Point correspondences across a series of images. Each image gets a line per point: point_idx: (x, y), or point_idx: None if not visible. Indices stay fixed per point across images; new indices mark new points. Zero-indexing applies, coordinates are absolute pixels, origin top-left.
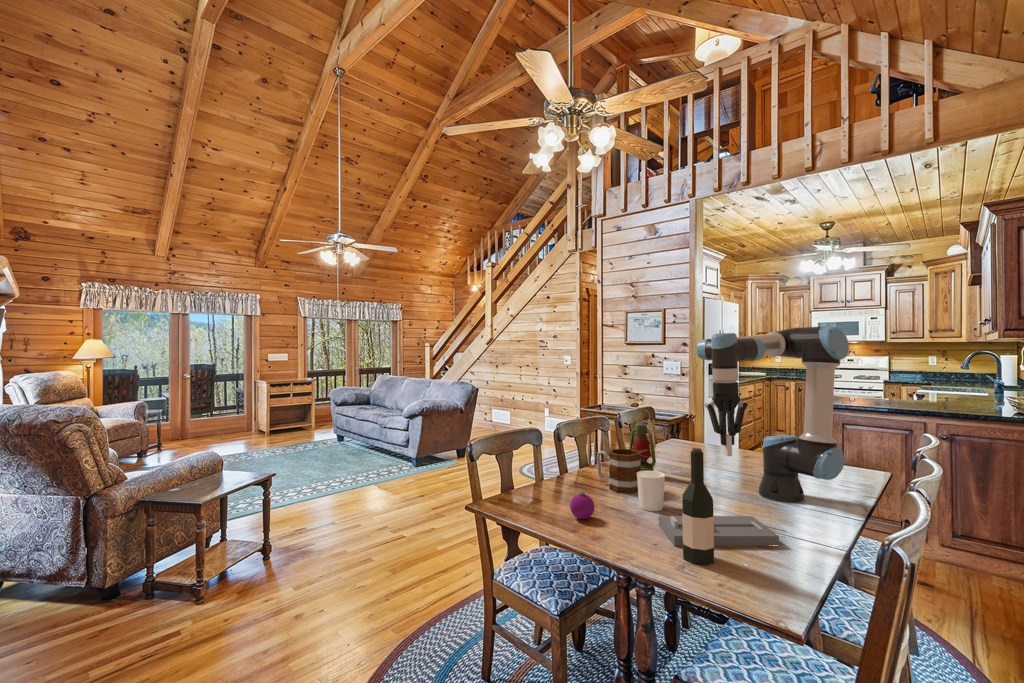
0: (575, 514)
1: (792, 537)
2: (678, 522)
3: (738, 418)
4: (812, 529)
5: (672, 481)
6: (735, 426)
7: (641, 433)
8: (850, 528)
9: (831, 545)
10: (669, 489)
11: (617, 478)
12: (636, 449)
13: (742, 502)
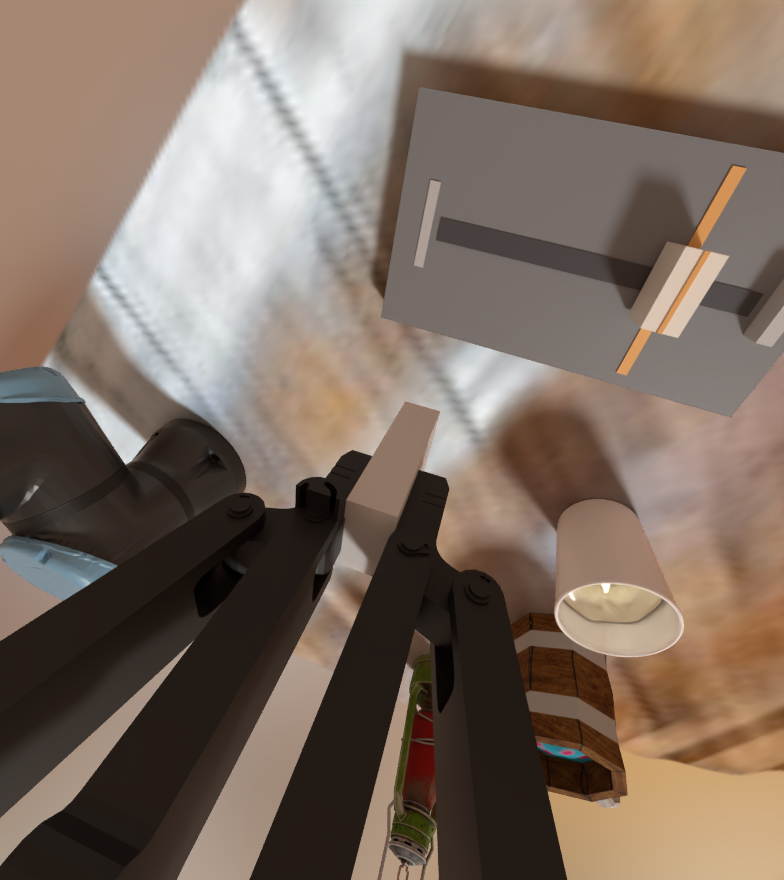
0: None
1: (330, 180)
2: (716, 334)
3: (91, 664)
4: (238, 234)
5: None
6: (218, 591)
7: (424, 812)
8: (138, 216)
9: (248, 79)
10: None
11: (608, 678)
12: None
13: (313, 462)
